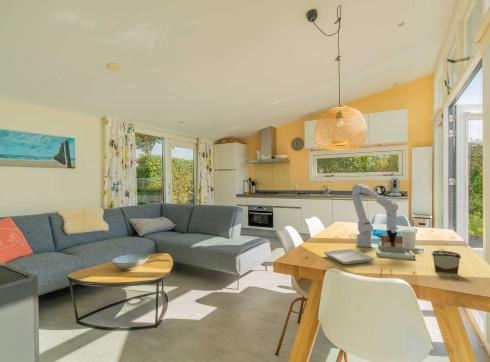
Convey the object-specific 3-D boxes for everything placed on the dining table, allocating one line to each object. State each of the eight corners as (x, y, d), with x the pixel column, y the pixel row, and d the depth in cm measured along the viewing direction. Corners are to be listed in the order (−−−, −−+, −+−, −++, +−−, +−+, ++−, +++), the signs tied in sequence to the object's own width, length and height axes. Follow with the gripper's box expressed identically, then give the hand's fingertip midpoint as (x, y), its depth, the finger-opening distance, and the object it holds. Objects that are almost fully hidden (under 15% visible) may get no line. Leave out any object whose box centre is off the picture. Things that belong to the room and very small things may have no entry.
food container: (456, 270, 139) (456, 251, 139) (461, 274, 134) (461, 254, 134) (428, 268, 143) (428, 249, 143) (432, 272, 138) (432, 252, 138)
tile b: (395, 247, 172) (395, 243, 172) (394, 245, 176) (394, 242, 176) (402, 247, 171) (402, 243, 171) (401, 246, 174) (401, 242, 174)
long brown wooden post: (381, 244, 178) (381, 235, 178) (381, 243, 181) (381, 234, 181) (402, 245, 174) (402, 236, 174) (401, 244, 177) (401, 235, 177)
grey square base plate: (380, 252, 176) (380, 245, 176) (378, 247, 188) (378, 241, 188) (405, 254, 171) (405, 247, 171) (401, 249, 183) (401, 243, 183)
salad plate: (343, 267, 147) (343, 261, 147) (322, 256, 168) (322, 251, 168) (376, 263, 153) (376, 257, 153) (351, 254, 173) (351, 248, 173)
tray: (377, 256, 165) (377, 252, 165) (375, 251, 176) (375, 248, 176) (415, 259, 158) (415, 255, 158) (410, 254, 169) (410, 250, 169)
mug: (411, 245, 191) (411, 229, 191) (422, 248, 183) (422, 231, 183) (397, 247, 188) (397, 229, 188) (408, 250, 180) (407, 232, 180)
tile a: (384, 246, 174) (383, 242, 174) (383, 245, 178) (383, 241, 178) (391, 247, 173) (390, 243, 173) (390, 245, 176) (390, 241, 176)
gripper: (400, 223, 169) (400, 244, 169) (396, 219, 183) (396, 239, 183) (387, 222, 172) (388, 243, 172) (384, 219, 185) (384, 239, 185)
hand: (391, 241), depth 177 cm, fingers closed on long brown wooden post, 3 cm apart
